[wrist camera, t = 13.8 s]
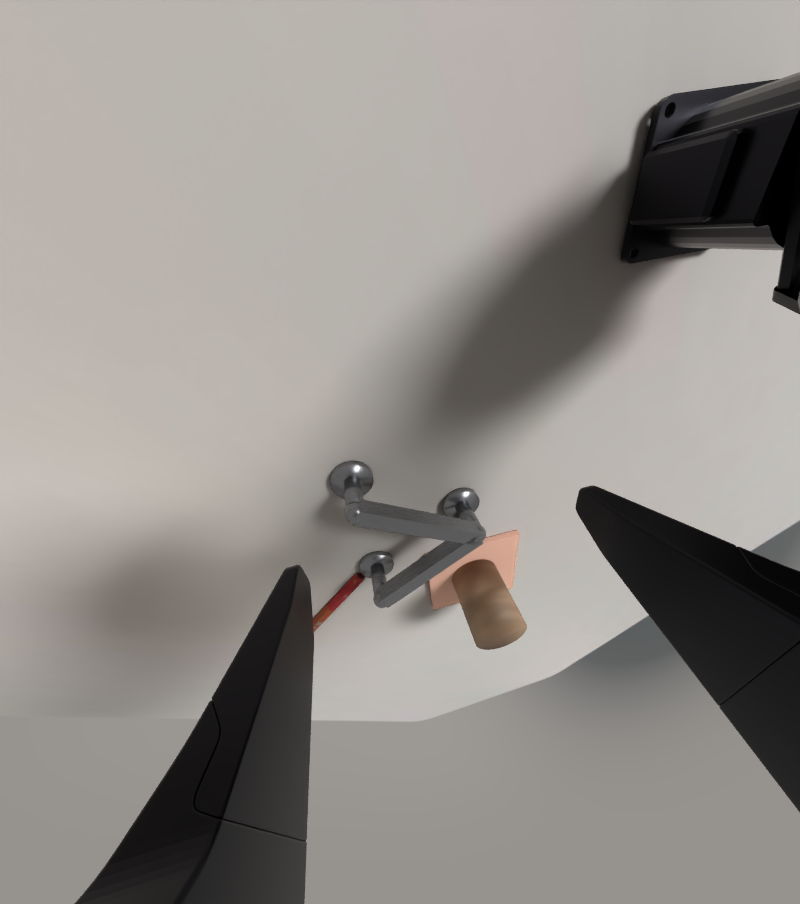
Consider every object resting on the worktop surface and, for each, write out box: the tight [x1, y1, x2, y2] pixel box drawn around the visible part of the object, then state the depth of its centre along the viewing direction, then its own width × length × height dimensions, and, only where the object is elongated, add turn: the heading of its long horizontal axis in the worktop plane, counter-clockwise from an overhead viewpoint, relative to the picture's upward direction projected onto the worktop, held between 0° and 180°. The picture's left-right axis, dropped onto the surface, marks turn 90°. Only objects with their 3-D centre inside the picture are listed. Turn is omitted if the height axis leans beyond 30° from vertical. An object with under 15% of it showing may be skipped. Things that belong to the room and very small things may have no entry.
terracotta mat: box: [425, 530, 520, 610], centre depth 32 cm, size 9×9×1 cm
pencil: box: [313, 573, 365, 631], centre depth 32 cm, size 19×1×1 cm, turn 142°
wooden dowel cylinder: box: [452, 559, 527, 650], centre depth 29 cm, size 5×5×6 cm
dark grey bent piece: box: [330, 461, 486, 608], centre depth 24 cm, size 11×13×4 cm
